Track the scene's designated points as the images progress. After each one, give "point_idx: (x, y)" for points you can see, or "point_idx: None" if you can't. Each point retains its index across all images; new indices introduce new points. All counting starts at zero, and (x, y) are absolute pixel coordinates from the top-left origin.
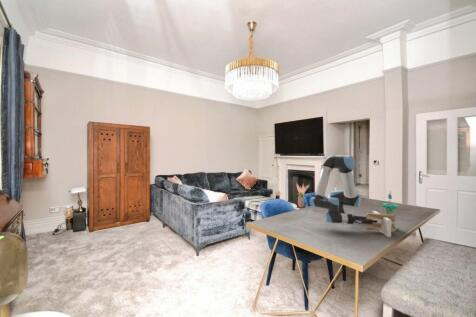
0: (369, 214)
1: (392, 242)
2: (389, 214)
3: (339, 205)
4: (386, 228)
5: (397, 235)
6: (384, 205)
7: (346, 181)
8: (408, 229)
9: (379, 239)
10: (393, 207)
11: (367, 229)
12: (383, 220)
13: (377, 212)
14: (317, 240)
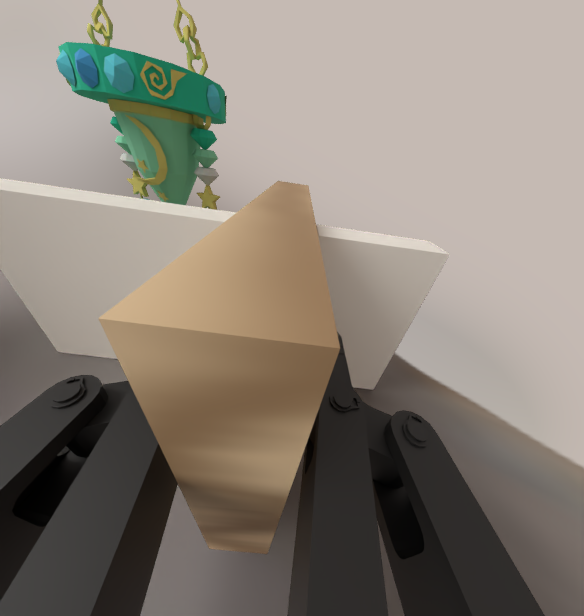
0: (327, 312)
1: (498, 418)
2: (276, 183)
3: None
4: (381, 340)
5: None
6: (137, 62)
7: None
8: None
9: (517, 519)
10: (222, 103)
11: (261, 552)
12: (329, 275)
13: (85, 192)
14: None
